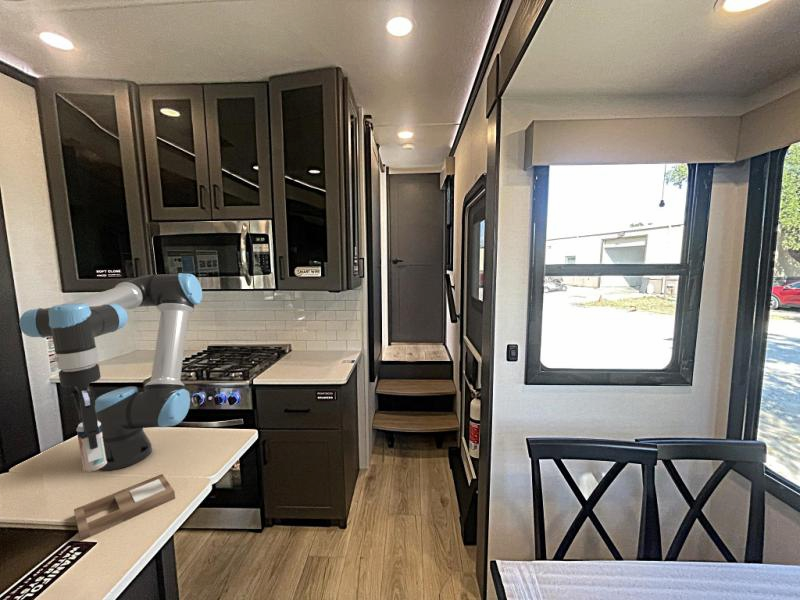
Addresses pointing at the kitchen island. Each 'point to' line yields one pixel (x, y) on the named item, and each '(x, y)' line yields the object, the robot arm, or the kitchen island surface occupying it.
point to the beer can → (86, 465)
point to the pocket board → (123, 505)
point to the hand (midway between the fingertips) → (93, 455)
